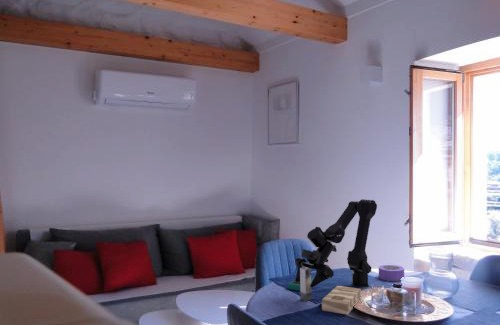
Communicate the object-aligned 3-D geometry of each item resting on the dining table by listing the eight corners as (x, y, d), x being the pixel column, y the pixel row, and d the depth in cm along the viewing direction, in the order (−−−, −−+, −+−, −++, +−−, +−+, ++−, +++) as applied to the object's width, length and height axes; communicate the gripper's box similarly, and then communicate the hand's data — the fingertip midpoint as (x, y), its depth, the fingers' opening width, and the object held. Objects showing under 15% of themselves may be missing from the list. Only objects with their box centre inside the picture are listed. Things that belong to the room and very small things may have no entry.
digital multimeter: (315, 283, 198) (315, 277, 198) (302, 292, 185) (302, 285, 185) (300, 281, 202) (300, 275, 202) (287, 290, 189) (287, 283, 189)
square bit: (306, 297, 177) (305, 266, 177) (311, 299, 174) (311, 268, 174) (300, 299, 175) (300, 268, 175) (305, 301, 172) (305, 269, 172)
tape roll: (377, 280, 201) (377, 269, 201) (379, 273, 212) (379, 263, 212) (403, 282, 197) (403, 271, 196) (404, 275, 207) (404, 265, 207)
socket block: (337, 295, 179) (337, 285, 179) (361, 298, 175) (360, 288, 174) (321, 310, 162) (321, 299, 162) (347, 314, 157) (347, 303, 157)
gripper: (297, 238, 184) (278, 268, 178) (328, 245, 169) (308, 277, 163) (311, 254, 189) (292, 283, 183) (342, 262, 174) (323, 294, 167)
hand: (303, 284), depth 174 cm, fingers open, 9 cm apart
